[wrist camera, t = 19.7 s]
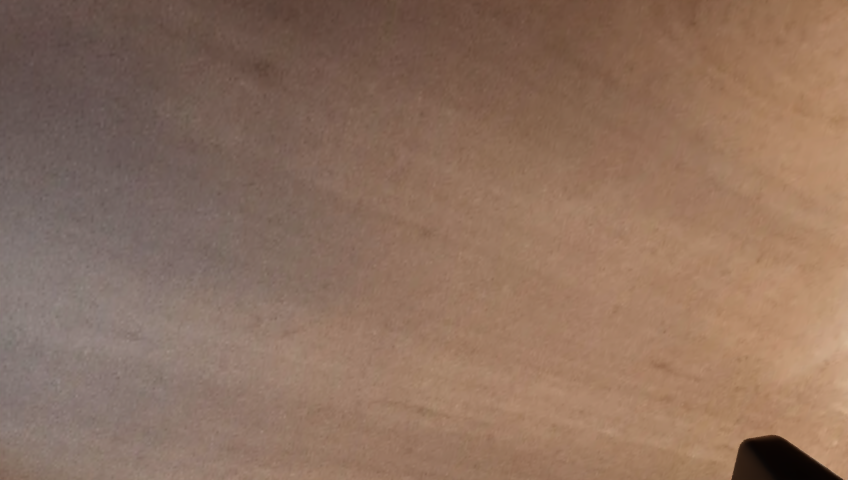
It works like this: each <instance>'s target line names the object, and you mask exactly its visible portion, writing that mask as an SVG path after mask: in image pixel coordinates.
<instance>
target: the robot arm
mask: <svg viewBox="0 0 848 480" xmlns="http://www.w3.org/2000/svg"><path fill="white" fill-rule="evenodd" d="M731 480H843V479H842V478H841V477H839V476H838V475H836V474H835V473H833V472H832V471H830V470H829V469H828V468H826V467H825V466H823V465H822V464H820V463H819V462H817V461H816V460H815V459H813V458H812V457H810V456H809V455H807V454H806V453H804V452H803V451H802V450H800V449H799V448H797V447H796V446H794V445H793V444H791V443H790V442H789V441H787V440H786V439H784V438H782V437H780V436H777V435H767V436H761V437H755V438H749V439H746V440H744V441H743V442H742V443H741V444H740V447H739V450H738V454H737V458H736V463H735V467H734V471H733V475H732V479H731Z"/></svg>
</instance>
